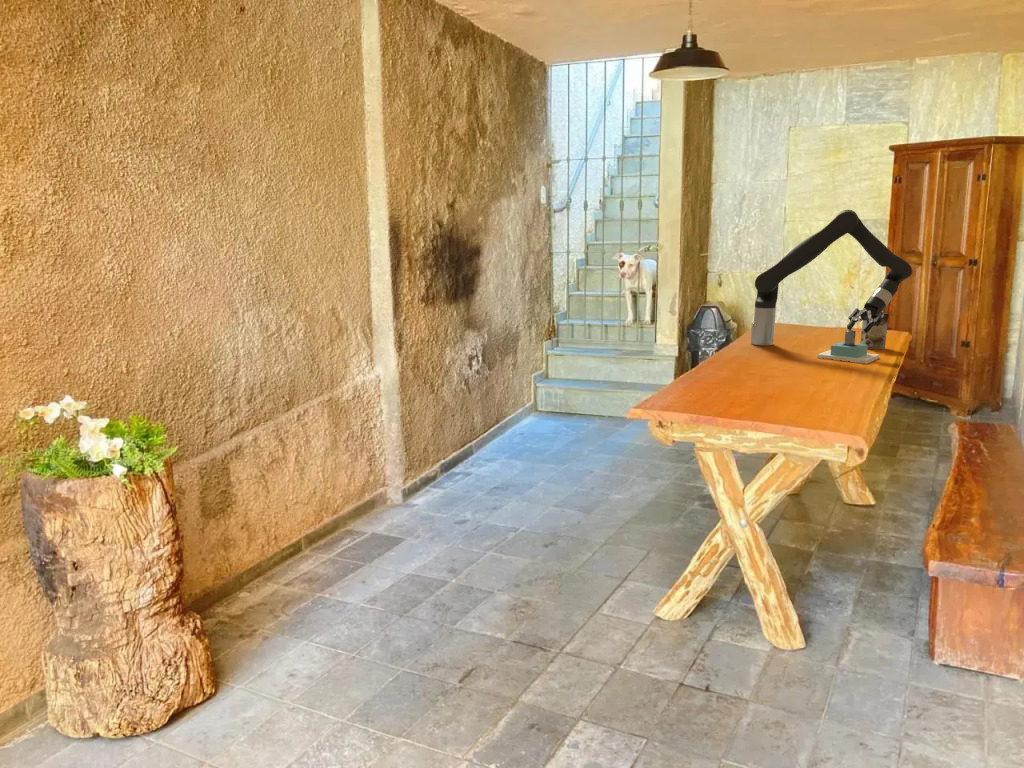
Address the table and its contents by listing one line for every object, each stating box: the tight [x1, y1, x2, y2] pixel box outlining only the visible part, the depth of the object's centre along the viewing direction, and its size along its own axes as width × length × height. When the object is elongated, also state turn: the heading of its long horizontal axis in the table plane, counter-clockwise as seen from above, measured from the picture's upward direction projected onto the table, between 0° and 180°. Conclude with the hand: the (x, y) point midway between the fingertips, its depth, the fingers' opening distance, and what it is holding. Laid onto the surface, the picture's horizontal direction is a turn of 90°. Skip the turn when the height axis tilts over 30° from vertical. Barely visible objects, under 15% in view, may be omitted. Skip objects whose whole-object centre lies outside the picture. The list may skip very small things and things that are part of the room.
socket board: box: [817, 341, 880, 365], centre depth 337 cm, size 20×16×6 cm
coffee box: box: [859, 311, 889, 350], centre depth 360 cm, size 9×6×16 cm
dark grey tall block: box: [844, 329, 857, 347], centre depth 337 cm, size 4×4×10 cm
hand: (856, 330), depth 337 cm, fingers open, 8 cm apart
